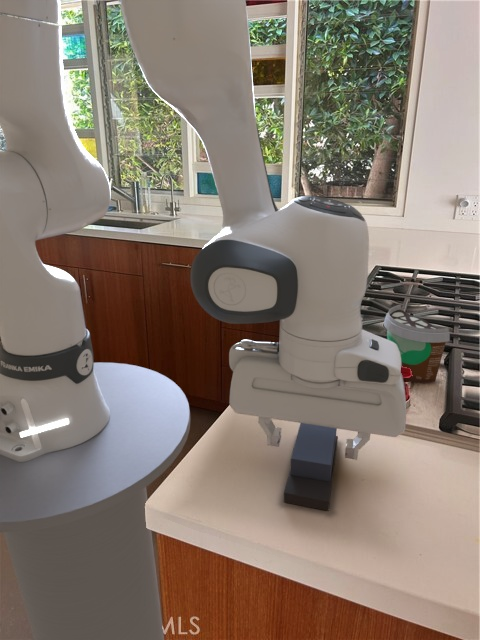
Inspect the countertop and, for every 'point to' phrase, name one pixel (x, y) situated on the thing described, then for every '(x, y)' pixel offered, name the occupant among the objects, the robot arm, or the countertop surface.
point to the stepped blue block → (312, 467)
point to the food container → (416, 343)
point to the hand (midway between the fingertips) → (311, 449)
